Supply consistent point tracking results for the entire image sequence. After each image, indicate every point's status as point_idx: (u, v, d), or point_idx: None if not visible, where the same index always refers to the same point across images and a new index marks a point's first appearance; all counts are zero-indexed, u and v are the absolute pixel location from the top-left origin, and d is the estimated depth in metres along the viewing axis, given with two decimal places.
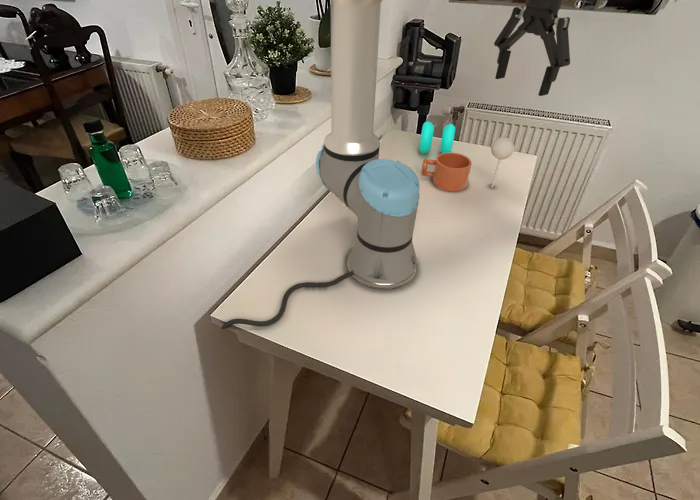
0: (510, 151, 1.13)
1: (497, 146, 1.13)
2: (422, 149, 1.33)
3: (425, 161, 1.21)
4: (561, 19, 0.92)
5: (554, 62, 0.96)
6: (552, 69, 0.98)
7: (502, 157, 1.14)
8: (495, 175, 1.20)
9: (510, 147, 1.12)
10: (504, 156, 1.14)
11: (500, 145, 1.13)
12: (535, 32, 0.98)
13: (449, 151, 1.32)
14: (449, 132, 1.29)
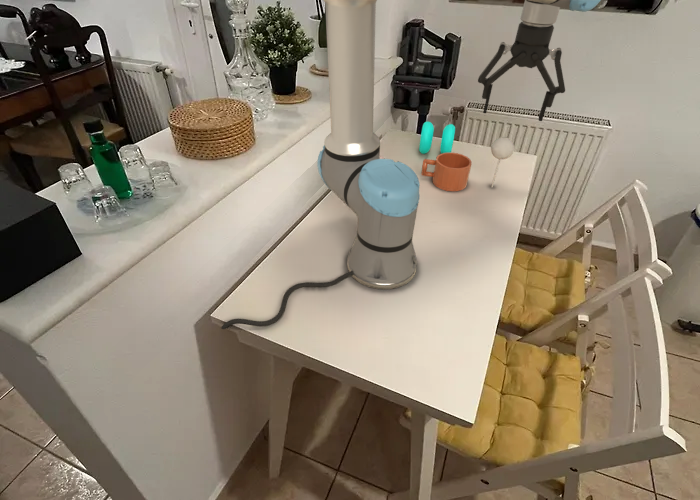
0: (510, 151, 1.13)
1: (497, 146, 1.13)
2: (422, 149, 1.33)
3: (425, 161, 1.21)
4: (560, 51, 0.97)
5: (554, 89, 1.02)
6: (551, 96, 1.03)
7: (502, 157, 1.14)
8: (495, 175, 1.20)
9: (510, 147, 1.12)
10: (504, 156, 1.14)
11: (500, 145, 1.13)
12: (529, 65, 1.00)
13: (449, 151, 1.32)
14: (449, 132, 1.29)
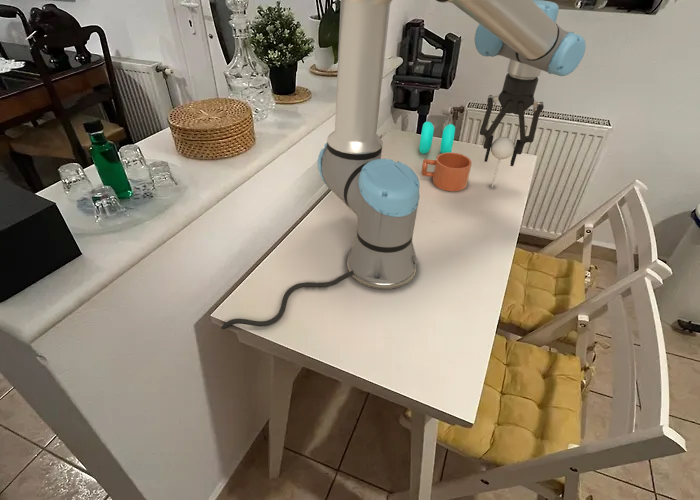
0: (510, 151, 1.13)
1: (497, 146, 1.13)
2: (422, 149, 1.33)
3: (425, 161, 1.21)
4: (542, 106, 1.05)
5: (524, 140, 1.11)
6: (521, 144, 1.12)
7: (502, 157, 1.14)
8: (495, 175, 1.20)
9: (510, 147, 1.12)
10: (504, 156, 1.14)
11: (500, 145, 1.13)
12: (515, 112, 1.08)
13: (449, 151, 1.32)
14: (449, 132, 1.29)
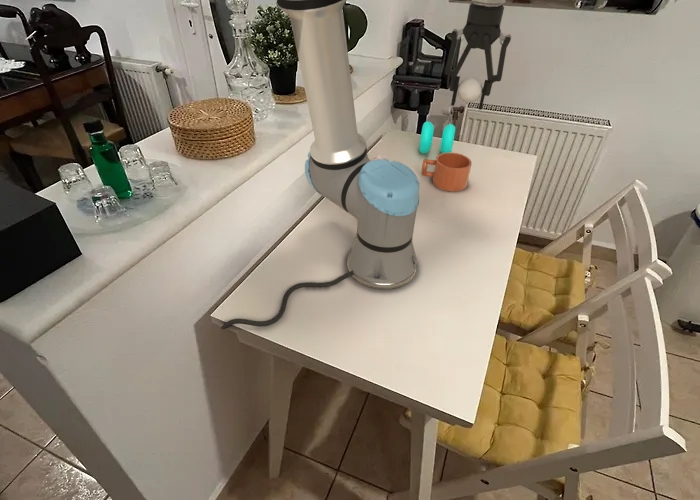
0: (478, 92, 1.05)
1: (463, 86, 1.05)
2: (422, 149, 1.33)
3: (425, 161, 1.21)
4: (509, 38, 0.97)
5: (492, 78, 1.03)
6: (488, 84, 1.04)
7: (469, 99, 1.06)
8: (463, 121, 1.12)
9: (477, 87, 1.05)
10: (471, 97, 1.06)
11: (466, 85, 1.05)
12: (481, 47, 1.00)
13: (449, 151, 1.32)
14: (449, 132, 1.29)
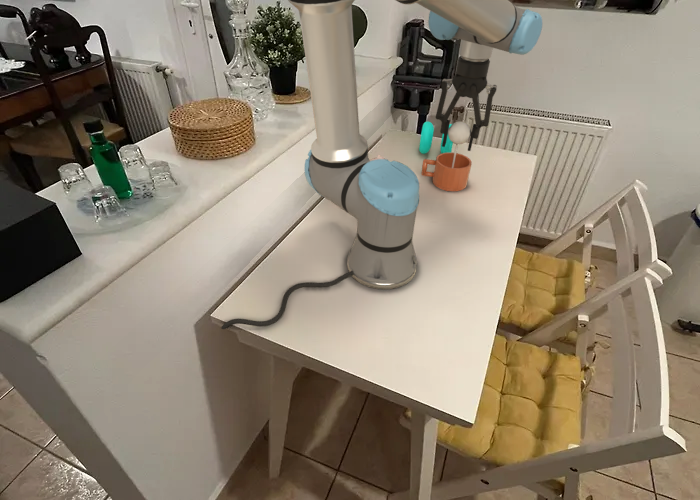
0: (466, 136, 1.12)
1: (453, 130, 1.12)
2: (422, 149, 1.33)
3: (425, 161, 1.21)
4: (495, 89, 1.04)
5: (479, 124, 1.10)
6: None
7: (458, 141, 1.14)
8: (454, 160, 1.20)
9: (465, 131, 1.12)
10: (460, 140, 1.13)
11: (456, 129, 1.12)
12: (469, 95, 1.07)
13: (449, 151, 1.32)
14: None
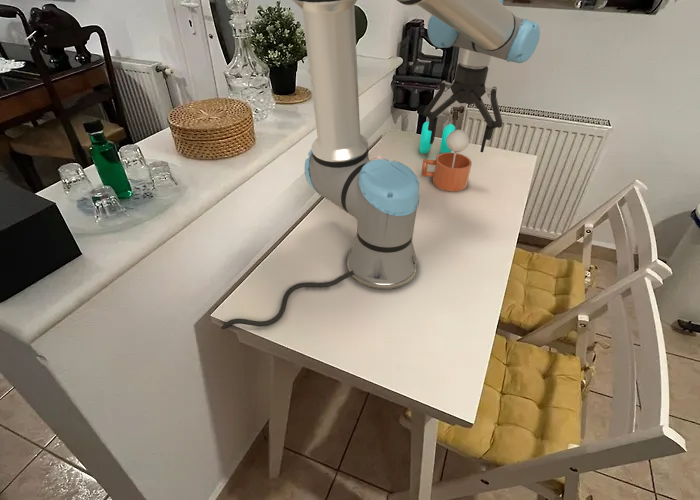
0: (465, 144, 1.14)
1: (452, 138, 1.14)
2: (422, 149, 1.33)
3: (425, 161, 1.21)
4: (494, 90, 1.04)
5: (492, 124, 1.09)
6: (490, 130, 1.11)
7: (457, 149, 1.15)
8: None
9: (464, 139, 1.13)
10: (459, 148, 1.15)
11: (454, 137, 1.14)
12: (468, 102, 1.08)
13: (449, 151, 1.32)
14: (449, 132, 1.29)
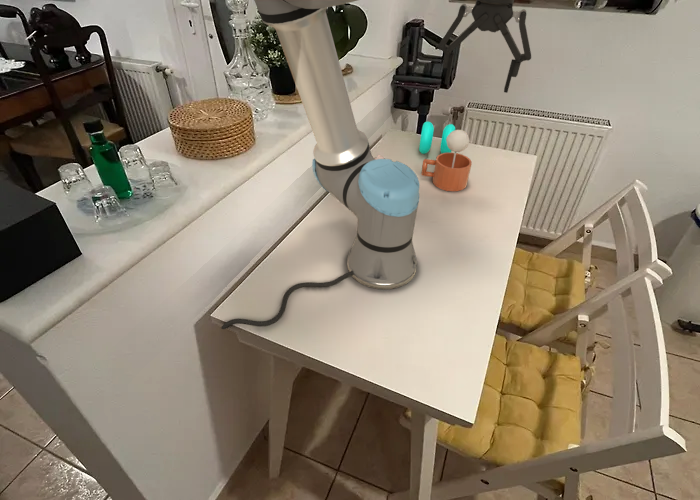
0: (465, 144, 1.14)
1: (452, 138, 1.14)
2: (422, 149, 1.33)
3: (425, 161, 1.21)
4: (524, 12, 0.88)
5: (520, 56, 0.93)
6: (516, 64, 0.95)
7: (457, 149, 1.15)
8: None
9: (464, 139, 1.13)
10: (459, 148, 1.15)
11: (454, 137, 1.14)
12: (492, 29, 0.92)
13: (449, 151, 1.32)
14: (449, 132, 1.29)
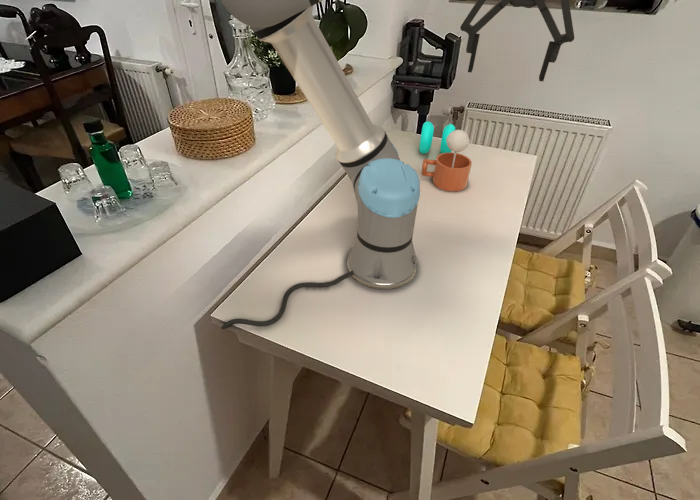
0: (465, 144, 1.14)
1: (452, 138, 1.14)
2: (422, 149, 1.33)
3: (425, 161, 1.21)
4: None
5: (560, 37, 0.77)
6: (555, 46, 0.79)
7: (457, 149, 1.15)
8: None
9: (464, 139, 1.13)
10: (459, 148, 1.15)
11: (454, 137, 1.14)
12: (527, 4, 0.76)
13: (449, 151, 1.32)
14: (449, 132, 1.29)
